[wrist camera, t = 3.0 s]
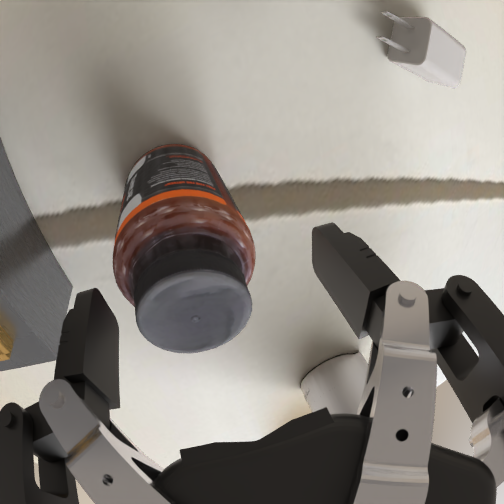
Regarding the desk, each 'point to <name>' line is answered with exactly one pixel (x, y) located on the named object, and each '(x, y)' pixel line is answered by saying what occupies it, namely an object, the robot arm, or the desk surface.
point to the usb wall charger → (425, 50)
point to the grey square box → (27, 282)
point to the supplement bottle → (183, 252)
